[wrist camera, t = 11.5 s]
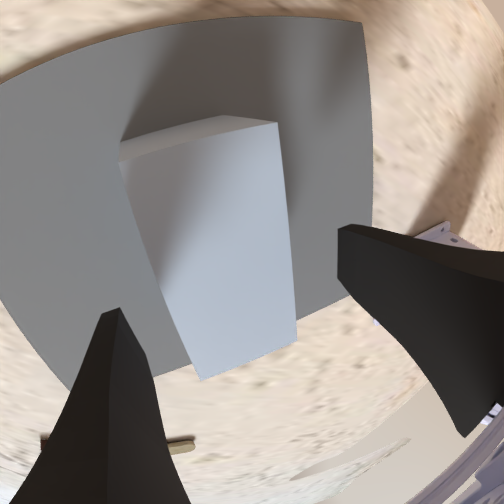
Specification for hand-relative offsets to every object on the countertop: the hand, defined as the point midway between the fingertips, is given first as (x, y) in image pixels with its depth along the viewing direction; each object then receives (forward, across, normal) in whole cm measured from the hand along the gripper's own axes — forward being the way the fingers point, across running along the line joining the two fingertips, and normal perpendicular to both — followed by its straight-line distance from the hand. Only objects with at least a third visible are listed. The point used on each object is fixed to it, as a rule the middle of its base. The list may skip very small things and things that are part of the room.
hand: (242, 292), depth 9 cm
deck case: (+6, 0, 0) cm, 6 cm away
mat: (+7, 0, 0) cm, 7 cm away
